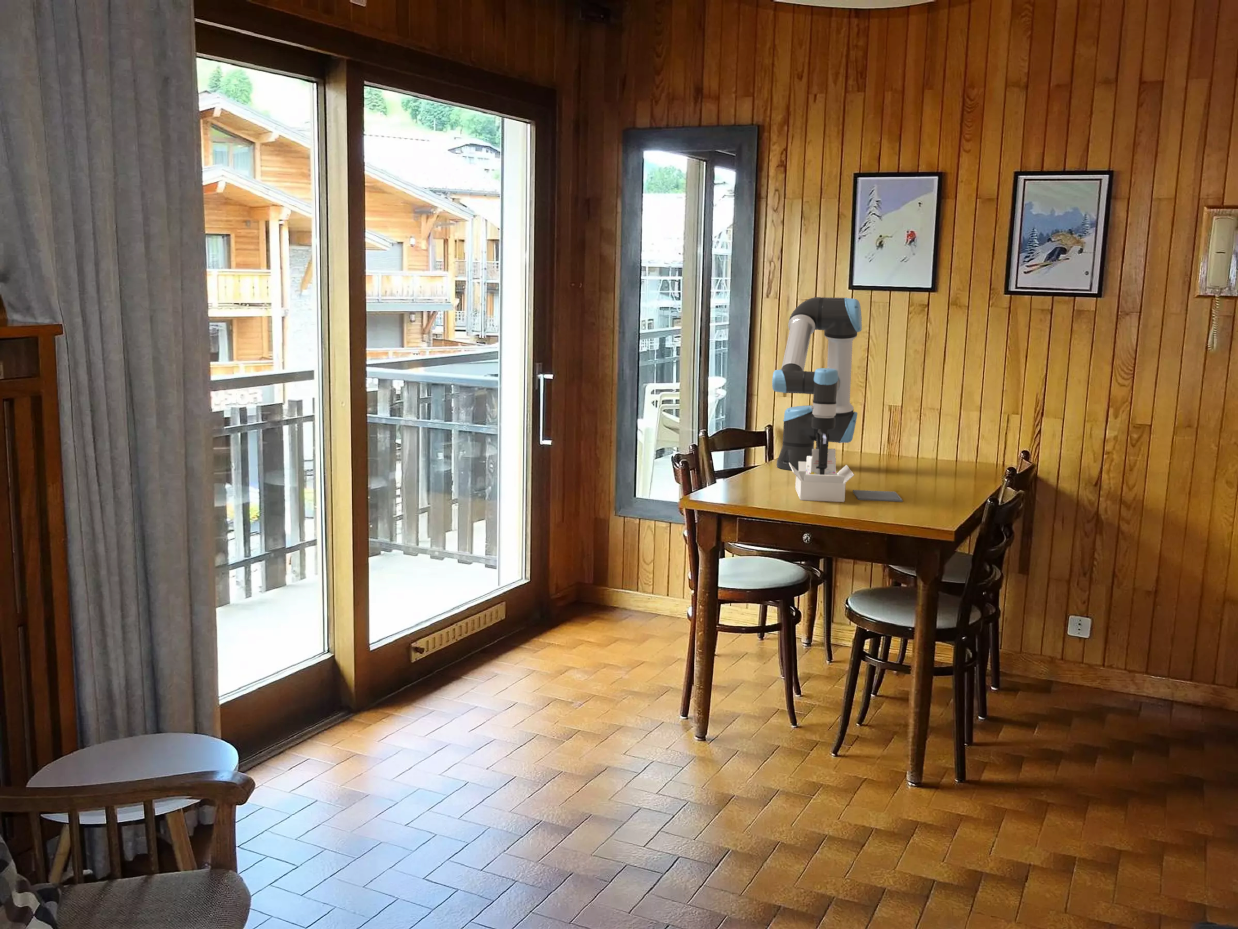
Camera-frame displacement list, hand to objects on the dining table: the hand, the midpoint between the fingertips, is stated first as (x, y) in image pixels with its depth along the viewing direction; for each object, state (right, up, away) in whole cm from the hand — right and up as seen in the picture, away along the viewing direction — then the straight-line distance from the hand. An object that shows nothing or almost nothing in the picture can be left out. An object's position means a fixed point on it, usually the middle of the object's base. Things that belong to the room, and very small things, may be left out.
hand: (819, 486), depth 367 cm
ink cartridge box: (0, -2, 0) cm, 2 cm away
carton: (0, -3, 0) cm, 3 cm away
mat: (+19, -3, 0) cm, 19 cm away
